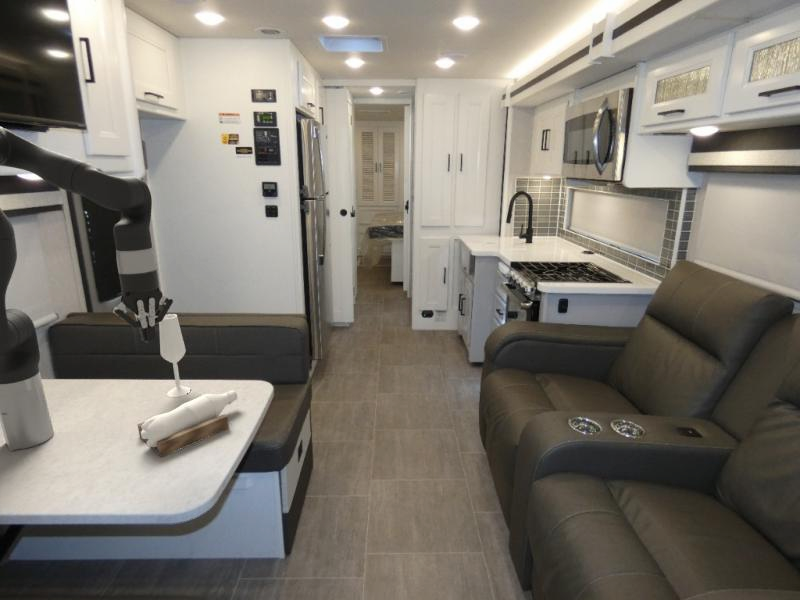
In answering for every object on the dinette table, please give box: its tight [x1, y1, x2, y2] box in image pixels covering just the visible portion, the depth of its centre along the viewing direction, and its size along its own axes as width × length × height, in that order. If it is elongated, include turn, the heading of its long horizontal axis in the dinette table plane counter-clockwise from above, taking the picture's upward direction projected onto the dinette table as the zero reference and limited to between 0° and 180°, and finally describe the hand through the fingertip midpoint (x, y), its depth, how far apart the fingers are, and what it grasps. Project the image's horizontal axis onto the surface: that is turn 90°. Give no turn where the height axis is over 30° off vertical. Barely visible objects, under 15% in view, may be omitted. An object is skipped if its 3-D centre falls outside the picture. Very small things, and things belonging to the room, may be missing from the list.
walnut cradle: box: [137, 413, 230, 458], centre depth 120 cm, size 17×13×4 cm
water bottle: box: [141, 389, 238, 448], centre depth 121 cm, size 7×7×25 cm
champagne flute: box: [158, 313, 191, 398], centre depth 139 cm, size 7×7×24 cm
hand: (149, 341), depth 109 cm, fingers closed
